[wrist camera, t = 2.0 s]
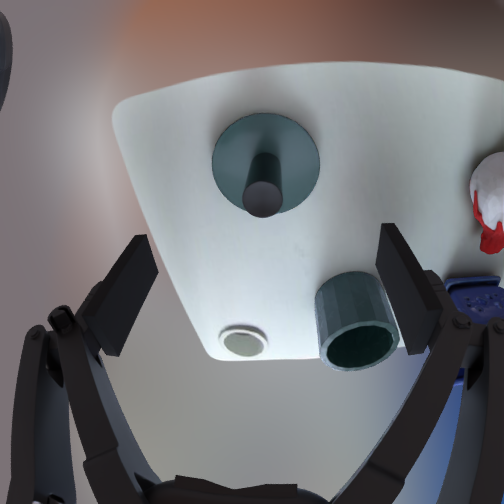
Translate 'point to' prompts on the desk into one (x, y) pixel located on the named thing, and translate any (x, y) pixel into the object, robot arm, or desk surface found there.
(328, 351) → the pot
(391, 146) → the desk surface
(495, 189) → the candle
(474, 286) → the flower pot
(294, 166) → the lid
